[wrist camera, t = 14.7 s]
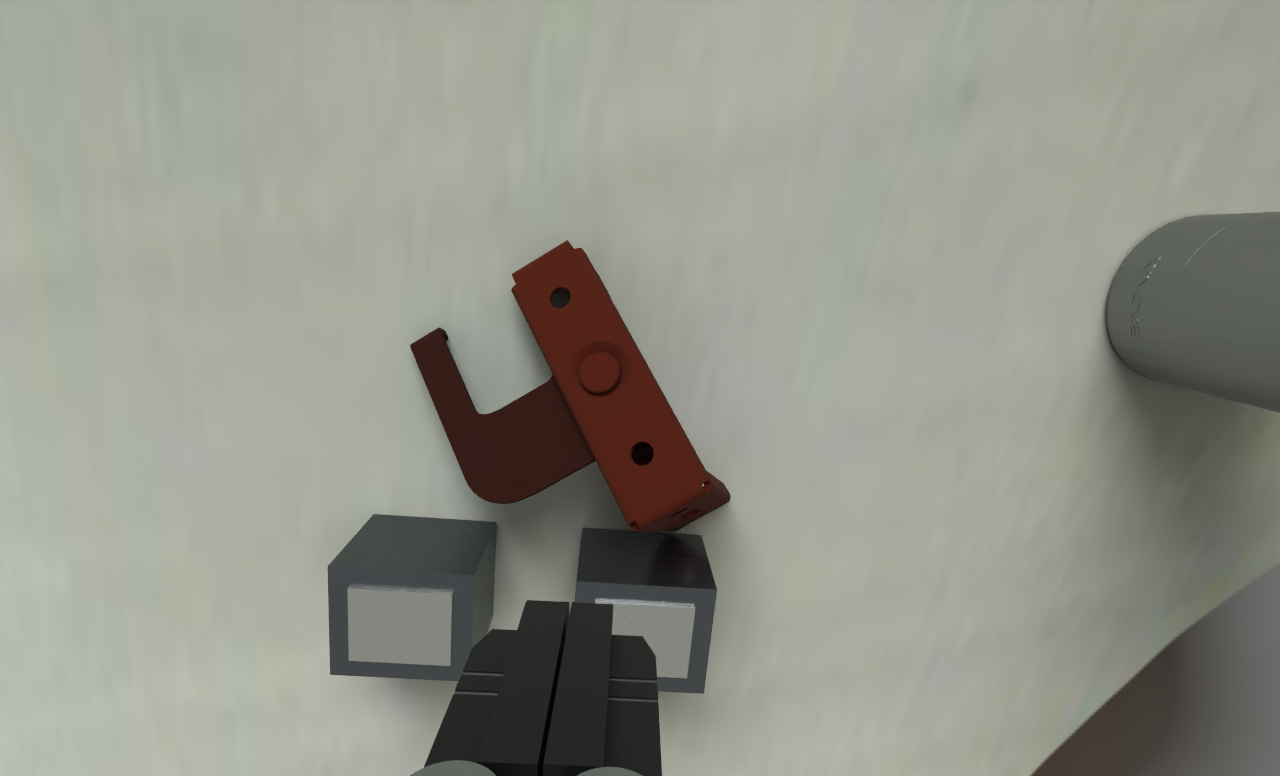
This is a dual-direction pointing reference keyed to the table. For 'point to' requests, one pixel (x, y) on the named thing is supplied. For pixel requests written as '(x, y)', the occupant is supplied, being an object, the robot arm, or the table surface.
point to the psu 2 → (654, 597)
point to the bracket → (574, 408)
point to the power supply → (411, 597)
